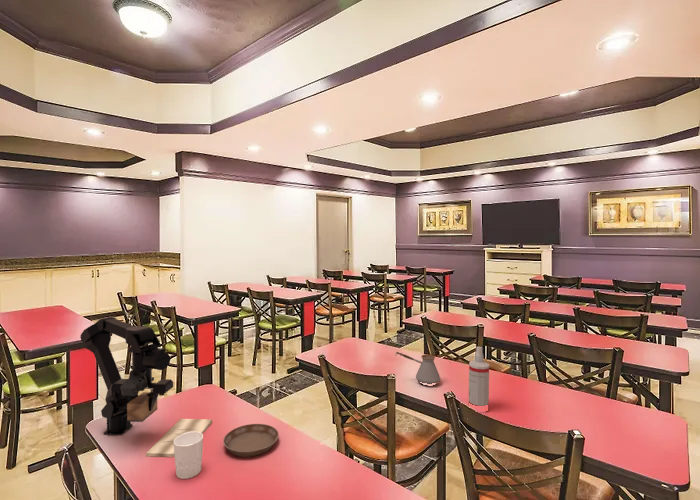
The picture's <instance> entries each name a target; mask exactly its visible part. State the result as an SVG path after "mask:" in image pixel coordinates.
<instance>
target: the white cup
mask: <svg viewBox="0 0 700 500" xmlns="http://www.w3.org/2000/svg"><path fill="white" fill-rule="evenodd" d="M203 446H204V433H203V434H202V433H200V432H187V433H183V434H181V435H179V436H177V437H176V438H175V439H174V456H175V457H174V465H175V474H176V477H177V478H179V479H182V480H184V479H185V480H188V479H191V478H192V479H193V478H194V477H196V476H198V474H200V473H201V471H202V464H203V463H202V461H203V448H204V447H203Z"/></svg>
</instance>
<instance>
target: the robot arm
mask: <svg viewBox="0 0 700 500" xmlns="http://www.w3.org/2000/svg"><path fill="white" fill-rule="evenodd" d="M111 335H114V336H118V337H120V338H122V339H123V340H125V344H126V345H128V346H130V348H129V349H128V350H127V352H128V353H131V361H132V362H131V365H132V367H131V370H130V371H129V373H128V374H129V377H128V378H122V377H121V376H122V375H121V374H120V371H119V368H118V366H117V363H116V360H115V359H114V356H113V354H112V351H111V348H110V343H111V339H112V337H111ZM80 340H81V342H82V344H83V346H84V347H85V349H86V350H89V351H90V352H91V353H93V355H94V358H95V361H96V363H97V365H98V369H99V370H100V374H101V376H102V379H103V381H104V383H105V387H106V389H107V391H106V395H105V405H104V406H103V408H102V409H101V410H100V413H101V416H102V418H105V419H106V430H105V431H104V432H103V435H118V436H120V435H123V434H124V433H125V432H127V430H129V429H130V428H131V427H133V423H132V422H127V403H129V402H130V401H132V400H133V399H135V398H136V397H137V396H139V393H140V392H144V391H145V390H150V393H148V394H147V396H148V397H149V411H152V409H153V407H154V404H155V402H156V399H157V400H158V397H159V395H162V394H166V393H168V391H170V390H171V389H173V388H174V381H173V380H172V379H168V378H167V379H166V378H165V379H160V380H159V381H157V382H153V381H155V377H154V376H153V373H152V371H153V370H157V371H164V370H166V369H167V368H168V366H169V365H170V362H171V357H170V354H169V353H168V352H166V351H165V350H166V349H165V348H163V347H162V344H161V341H160V340H159V338H158V336H157V334H156V332H155V330H154V329H153V327H150V326H144V325H143V326H142V325H141V326H140V325H139V326H136V325H135V326H134V325H132V324H130V323H128V322H124V321H123V320H122V321H121V320H120V319H117V318H116V317H114V316H109V317H103V318H99V319H98V320H97V321H96V322H95V323H93V324H91V325H89V326H88V327H86V328H85V329H83V331H82V332H81V334H80Z"/></svg>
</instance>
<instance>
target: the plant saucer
mask: <svg viewBox="0 0 700 500" xmlns="http://www.w3.org/2000/svg"><path fill="white" fill-rule="evenodd" d="M279 436H280V435H279V431H278V430H277V428H275V427H274V426H272V425H270V424H269V425H268V424H264V423H251V424H245V425H239V426H238V427H236V428H233V429H232V430H230V431H229V432H227V434H225V435H224V438H223V445H224V447H225V449H227V451H229V452H230V453H232V454H233V455H235V456H238V457H244V458H245V457H246V458H249V457H255V456H259V455H262V454H264V453H266V452H267V451H269V450H270V449H271V448H272V447H273V446H274V444H276V442H277V440H278V439H279Z"/></svg>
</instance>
